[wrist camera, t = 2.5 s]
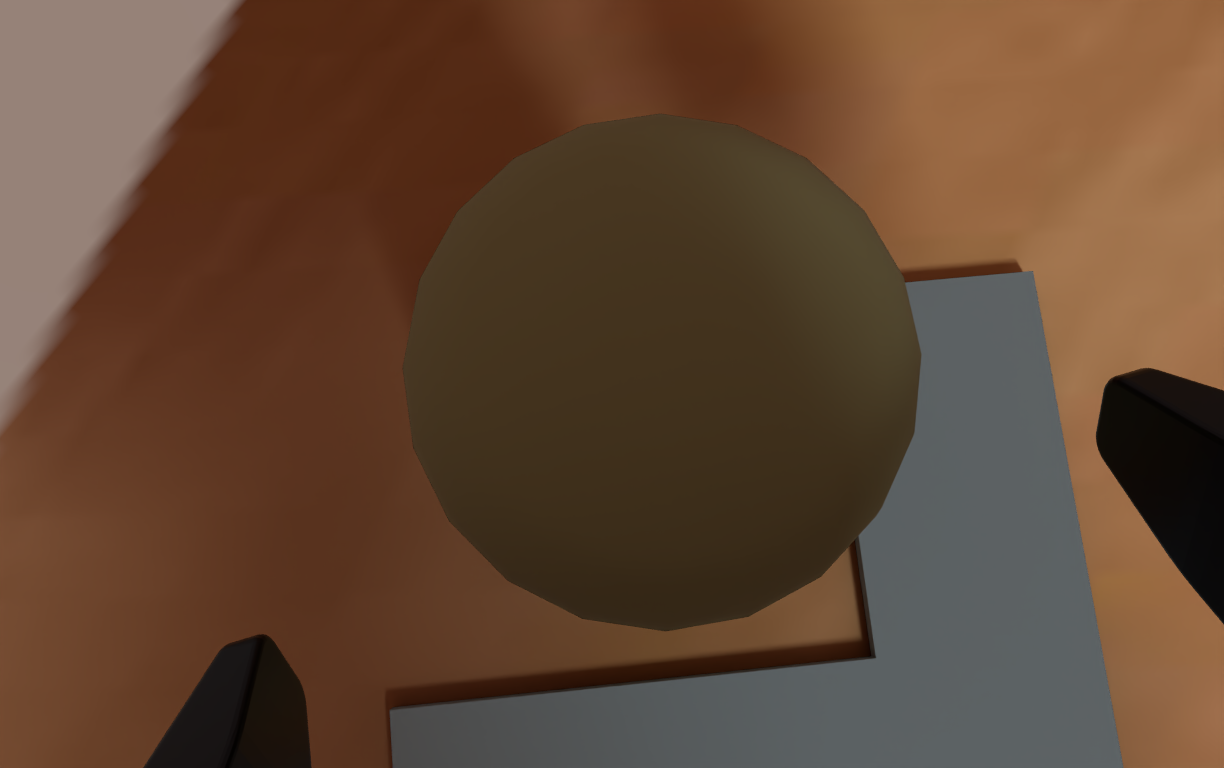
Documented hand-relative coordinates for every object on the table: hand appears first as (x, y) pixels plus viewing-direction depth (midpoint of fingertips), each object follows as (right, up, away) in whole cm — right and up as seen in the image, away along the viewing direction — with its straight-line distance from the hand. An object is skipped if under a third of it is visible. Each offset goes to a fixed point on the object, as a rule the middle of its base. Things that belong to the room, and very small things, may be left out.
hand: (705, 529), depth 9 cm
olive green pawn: (-1, 0, +9) cm, 9 cm away
